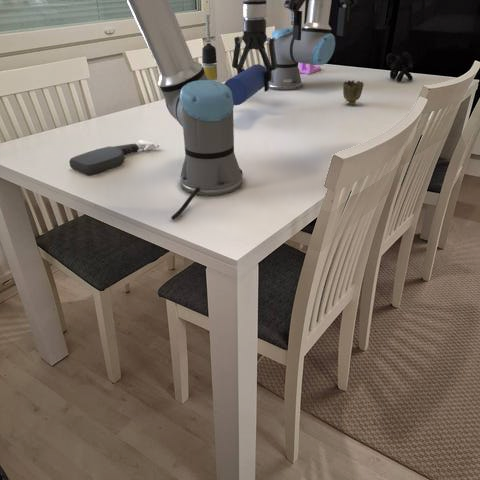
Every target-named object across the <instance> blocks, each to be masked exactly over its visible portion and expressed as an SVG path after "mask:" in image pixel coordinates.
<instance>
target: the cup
mask: <svg viewBox="0 0 480 480" xmlns="http://www.w3.org/2000/svg"><path fill="white" fill-rule="evenodd" d="M364 84H365V82H363V81H360V80H357V82H355V80H347V81H346V80H345V81H343V82H342V95H343V98H344V99H345V101H346V102H345V103H346V105H348V106H355V105H356V104H357V101H358V100H359V99H360V98H361V96H362V92H363V89H364Z"/></svg>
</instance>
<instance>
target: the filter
mask: <svg viewBox="0 0 480 480" xmlns="http://www.w3.org/2000/svg"><path fill="white" fill-rule="evenodd" d="M210 17H211V14H204V18H205V27H206V29H205V30H206V31H205V33H206V39H207V40H206V42H207V43H206V45H204V46H202V49H201V50H202V51H201V52H202V54H201V55H202V57H201V58H202V61H201V64H202V66H203V69H204V71H205V74H206V76H207V79H208V80H211V81H216V80H218V64H216V63H218V61H217V48H216V47H215V46H214V45H212V43H210V42H211V40H210V39H211V31H210V29H211V28H210Z"/></svg>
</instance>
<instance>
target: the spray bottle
mask: <svg viewBox="0 0 480 480" xmlns="http://www.w3.org/2000/svg"><path fill="white" fill-rule="evenodd" d="M159 148H160V145H159V144H158V143H155V142H151V141H148V140H144V139H139V140H138V141H137V142H135V143H129V144H128V143H126V144H122V145H113V146H105V147H100V148H97V149H94V150H90V151H87V152H83V153H81V154H78V155H74V156H73V157H70V159H69V161H68V162H69V167H70V168H71V169H72V170H74V171H75V172H78V173H81V174H83V175H85V176H89V177H90V176H91V177H92V176H95V175H99V174H102V173H105V172H107V171H110V170H113V169H116V168H118V167H120V166H122V165H123V164H124V163H125V158H126V156H127V155H131V154H133V153H138V151H140V150H143V151H144V152H146V151H147V150H149V149H159Z"/></svg>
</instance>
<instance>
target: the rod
mask: <svg viewBox="0 0 480 480" xmlns="http://www.w3.org/2000/svg"><path fill="white" fill-rule="evenodd" d="M265 71H267V69H266V67H265V65H263V64H258V63H257V64H253V65H251V66H249V67H248V68H246V69H244V71H242V72H241V73H239V74H236V75H234V76H231V77H230V78H229V79H226V80H225V82H224V83H223V84H225V85H227V86H228V87H229V88H230V90H231V92H232V98H233V103H234V106H240V105H242V104H243V103H245V102H246V101H247V100H249V99H250V98H251V97H253V96H254V95H256V94H257V93H258V92H260V91H261V90H262V89H264V85H265Z"/></svg>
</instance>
